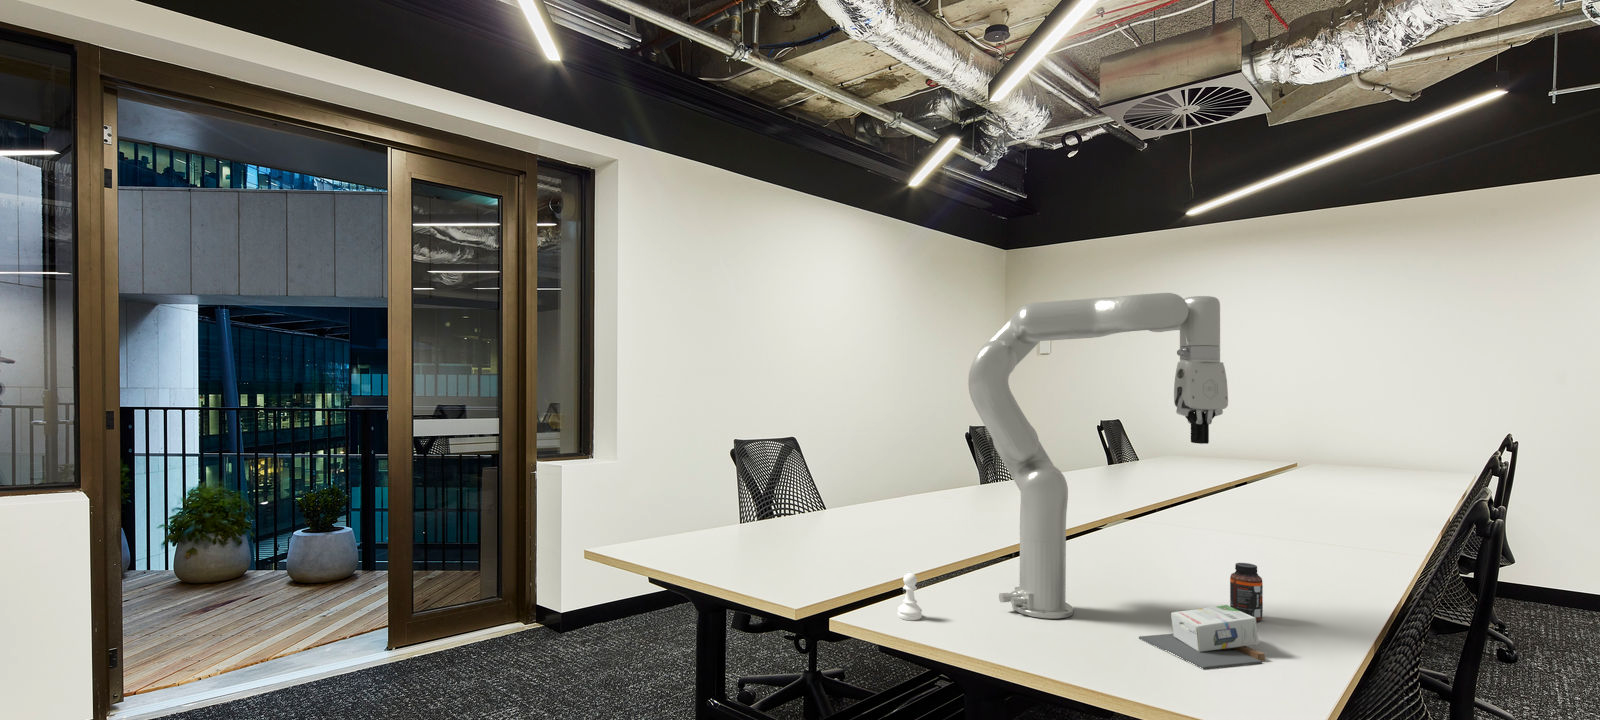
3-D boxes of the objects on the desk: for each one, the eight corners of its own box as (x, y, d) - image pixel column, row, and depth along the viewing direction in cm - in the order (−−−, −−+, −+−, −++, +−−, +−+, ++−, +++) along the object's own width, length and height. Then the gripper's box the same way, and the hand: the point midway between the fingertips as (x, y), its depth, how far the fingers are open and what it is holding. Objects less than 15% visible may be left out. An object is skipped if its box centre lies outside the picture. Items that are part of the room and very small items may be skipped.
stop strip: (1258, 661, 135) (1258, 654, 135) (1197, 635, 148) (1197, 629, 148) (1264, 660, 135) (1264, 653, 135) (1203, 635, 148) (1203, 628, 149)
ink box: (1257, 617, 138) (1196, 624, 137) (1259, 646, 138) (1199, 652, 137) (1226, 603, 147) (1169, 609, 146) (1228, 630, 147) (1171, 636, 146)
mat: (1203, 669, 130) (1203, 666, 130) (1138, 638, 146) (1138, 636, 146) (1261, 663, 134) (1261, 661, 134) (1192, 633, 149) (1192, 631, 149)
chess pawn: (910, 611, 160) (911, 569, 161) (926, 618, 156) (927, 574, 156) (892, 615, 158) (893, 572, 158) (908, 622, 153) (909, 577, 154)
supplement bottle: (1267, 623, 156) (1267, 568, 157) (1236, 621, 157) (1236, 566, 158) (1256, 615, 162) (1256, 562, 162) (1225, 613, 163) (1225, 560, 164)
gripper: (1183, 354, 153) (1183, 444, 152) (1243, 355, 157) (1243, 444, 156) (1156, 355, 160) (1156, 441, 159) (1214, 356, 164) (1214, 441, 163)
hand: (1199, 442), depth 158 cm, fingers closed
